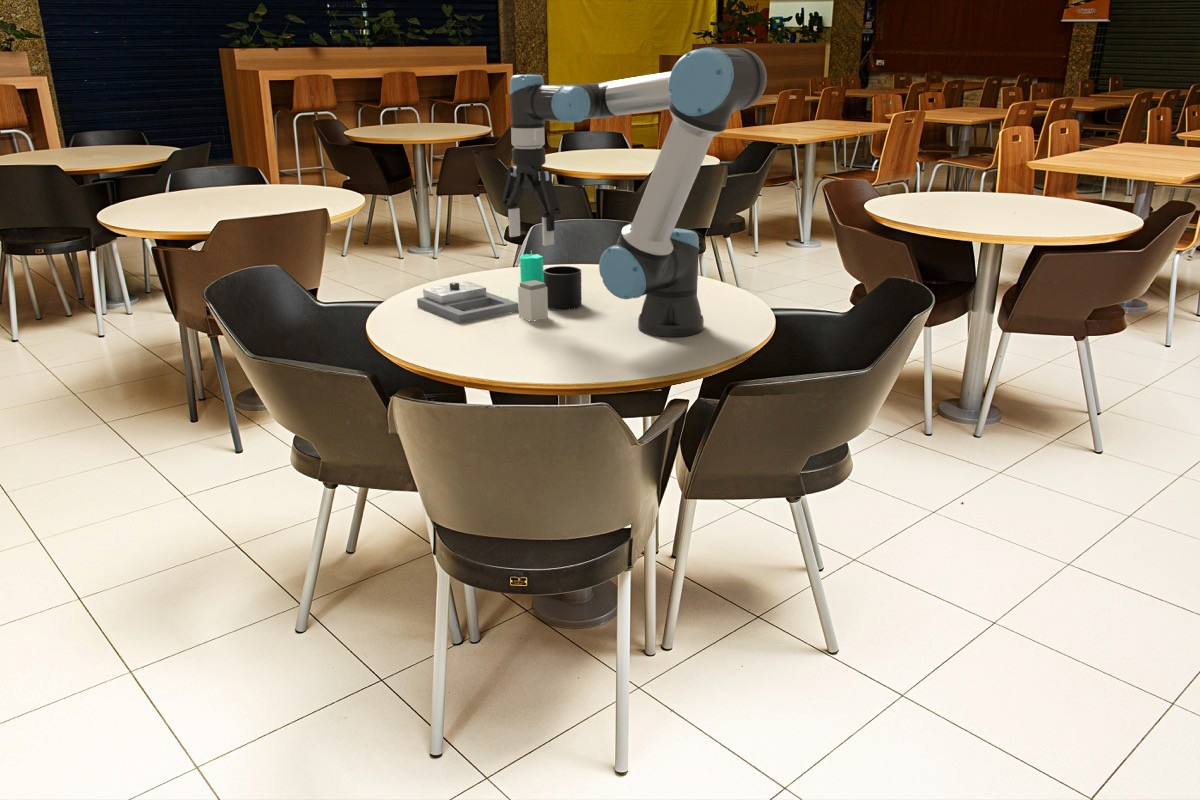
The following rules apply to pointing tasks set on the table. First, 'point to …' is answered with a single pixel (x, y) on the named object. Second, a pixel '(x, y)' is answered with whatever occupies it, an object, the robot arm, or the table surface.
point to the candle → (531, 267)
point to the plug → (533, 300)
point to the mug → (563, 287)
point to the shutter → (454, 292)
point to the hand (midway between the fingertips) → (531, 240)
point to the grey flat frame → (470, 307)
